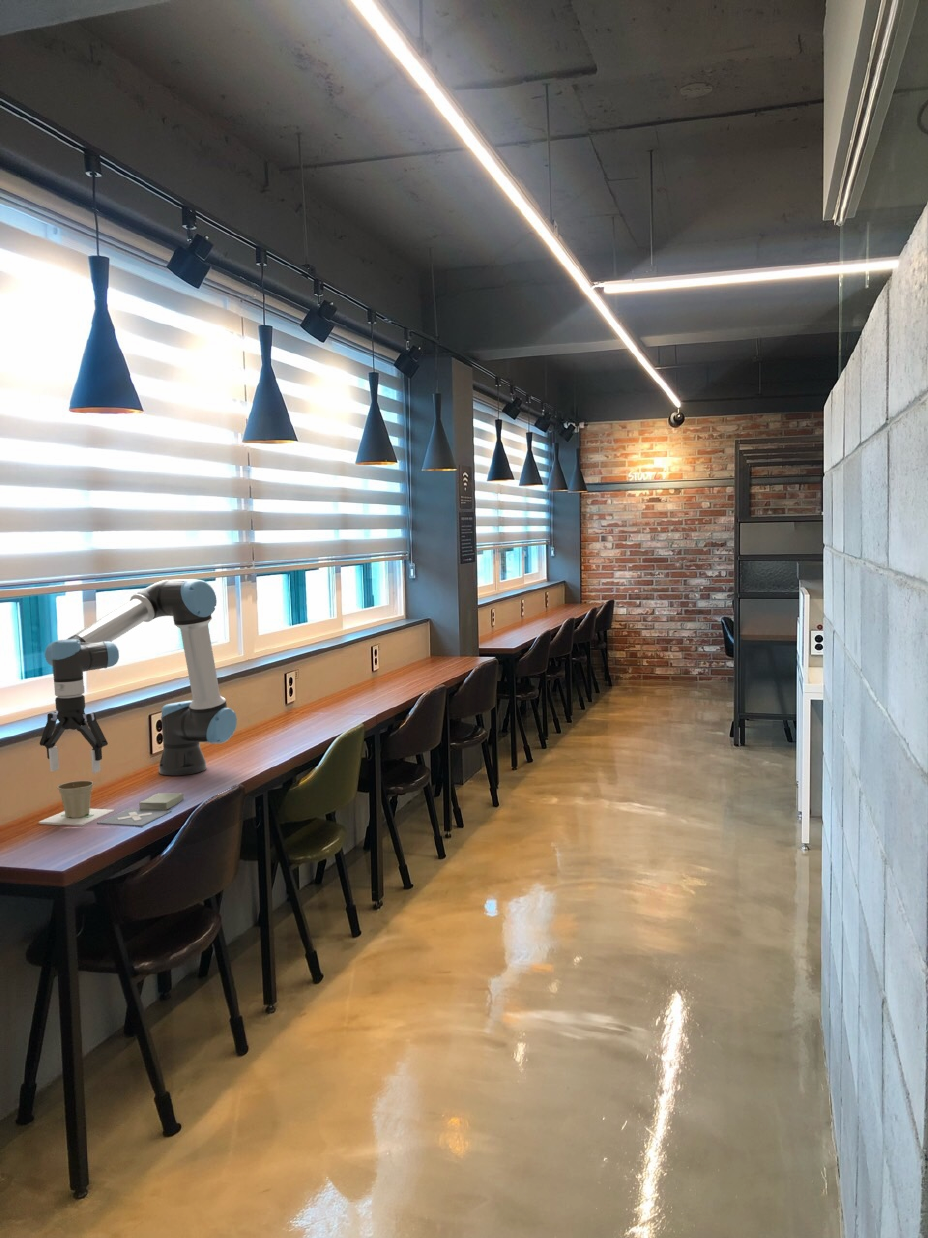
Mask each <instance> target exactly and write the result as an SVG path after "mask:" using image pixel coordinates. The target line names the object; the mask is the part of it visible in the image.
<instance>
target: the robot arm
mask: <svg viewBox="0 0 928 1238" xmlns="http://www.w3.org/2000/svg"><path fill="white" fill-rule="evenodd" d="M216 606H217V595H216V592H215V591H214V589H213V587H212V586H211V584H209V583H208V582H207V581H205V580H203V579H194V578H188V579H186V578H185V579H164V580H161V581H158V582H157V581H156V582H155V583H153V584H150V585H149V586H147V587H145V588H144V589H142V590H140V591H138V592H137V593H134V594H133V595H132V596H131V597H130V599H129V601H128V602H126V603H124V604H123V605H122V606H120V607H118V608H116V609H115V610H113V611H112V612H110V613H108V614H106V615H105V616H103V617H102V618H99V619H98V620H96V621H95V622H94V623H91V624H90V625H88V626H87V627H85V628H84V629H81V630H79V631H78V632H76V633H75V634H73V635H72V636H70V637H68V638H67V639H57V640H55V641H52V642H50V643H49V644H48V645H47V646H46V648H45V652H44V658H45V660H46V662H47V664H49V665H50V666H52V672H53V684H54V696H56V697H55V698H54V699H55V700H54V701H55V710H56V711H52V712H50V713H47V717H46V718H47V719H46V720H47V721H46V723H45V726H44V729H43V732H42V735H41V738H40V741H39V745H40V747H41V746H43V747H45V748H46V757H47V759H48V760H49V771H50V772H52V773H53V772H56V771H58V770H60V763H59V750H58V749H59V748H58V746H57V742H58V741H59V740H60V738H61V736H62V735H63V733H64V732H65V730H72V731H73V730H76V731H77V732H79V733H80V734H81V735H82V736H83V737H84V739H85V740H86V741H87V743H88V744H89V745H90V746H91V748H92V749H90V757H91V758H90V760H91V773H92V774H97V773H99V772H101V771H102V765H101V760H103V754H102V753H103V752H102V750H103V749H102V748H103V747H106V746H108V740H107V739H106V737H105V734H104V732H103V731H102V728H101V726H100V725H99V723H98V721H97V716H96V713H95V712H90V713H85V708H86V700H85V698H86V697H85V695H84V693H85V683H84V672H90V671H94V670H100V669H107V668H111V667H114V666H116V664H117V663H118V662H119V659H120V658H119V657H120V650H119V648H118V646H117V644H116V643H114V642H113V641H115V640H117V639H118V638H120V637H122V635H124V634H126V633H127V632H129V631H131V630H132V629H134V628H135V627H137V626H138V625H140V624H142V623H143V622H146V623H148V622H151V621H152V620H154V619H156V618H161V617H172V618H173V623H174V626H176V627H177V628H178V629H179V630H180V634H181V640H182V645H183V651H184V657H185V662H186V668H187V674H188V680H189V686H190V690H191V691H190V692H191V696H192V700H184V701H179V702H172V703H167V704H165V705H163V706H162V707H161V717H160V719H161V721H160V722H161V730H162V731H161V732H162V745H163V749H162V753H161V754H162V755H161V758H160V762H159V765H158V772H159V774H160V775H163V776H171V777H172V776H188V775H192V774H198V773H201V772H203V771H205V770H206V769H207V762H206V759H205V756H204V753H203V751H202V749H201V745H200V743H206V744H207V743H209V744H223V743H226V742H227V741H229V740H231V738H232V737H233V735H234V733H235V732H236V727H237V723H238V722H237V721H238V718H237V714H236V712H235V711H234V709H232V708H231V707H228V705H227V700H226V698H225V697H223V696H222V695H221V692H220V686H219V681H218V674H217V669H216V665H215V664H216V663H215V659H214V653H213V647H212V641H211V636H210V635H211V634H210V629H209V623H210V622H211V621H212V619H213V617H212V615H213V613H214V612H215V610H216ZM57 721H58V722H59V723H58V724H57ZM56 724H57V725H56Z"/></svg>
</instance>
